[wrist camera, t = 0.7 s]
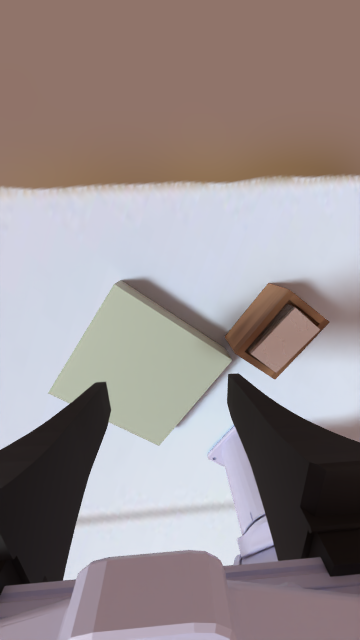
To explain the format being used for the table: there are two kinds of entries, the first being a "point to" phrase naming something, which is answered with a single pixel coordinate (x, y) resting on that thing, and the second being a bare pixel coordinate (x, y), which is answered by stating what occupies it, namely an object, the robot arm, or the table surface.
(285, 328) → the lid plate
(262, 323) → the brown box
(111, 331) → the stand
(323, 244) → the table surface
